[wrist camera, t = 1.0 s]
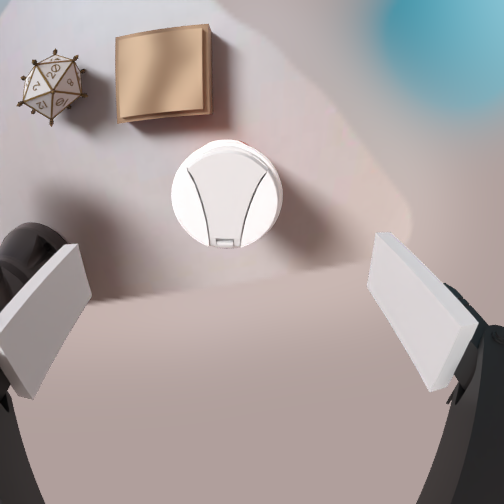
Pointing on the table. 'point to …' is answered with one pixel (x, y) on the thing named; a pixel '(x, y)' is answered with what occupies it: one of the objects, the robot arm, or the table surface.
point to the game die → (52, 86)
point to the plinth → (164, 73)
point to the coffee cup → (227, 194)
